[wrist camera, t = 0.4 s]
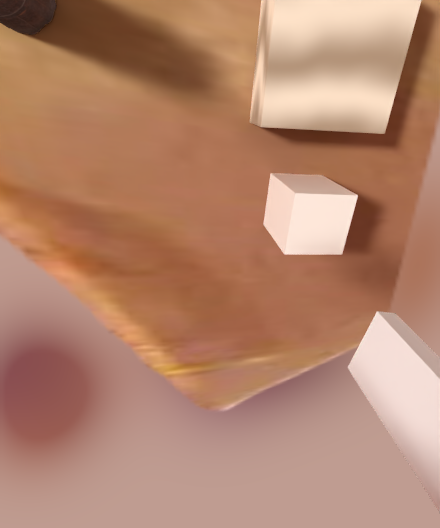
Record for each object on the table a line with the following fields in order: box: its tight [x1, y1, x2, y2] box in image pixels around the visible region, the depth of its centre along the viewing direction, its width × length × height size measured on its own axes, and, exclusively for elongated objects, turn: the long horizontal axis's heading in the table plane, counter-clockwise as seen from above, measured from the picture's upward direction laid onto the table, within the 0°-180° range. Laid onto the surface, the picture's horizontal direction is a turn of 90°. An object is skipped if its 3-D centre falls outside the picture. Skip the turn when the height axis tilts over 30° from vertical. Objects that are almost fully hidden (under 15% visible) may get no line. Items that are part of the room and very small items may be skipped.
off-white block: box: [264, 173, 358, 254], centre depth 34 cm, size 6×6×8 cm
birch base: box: [250, 0, 421, 134], centre depth 29 cm, size 12×12×5 cm
